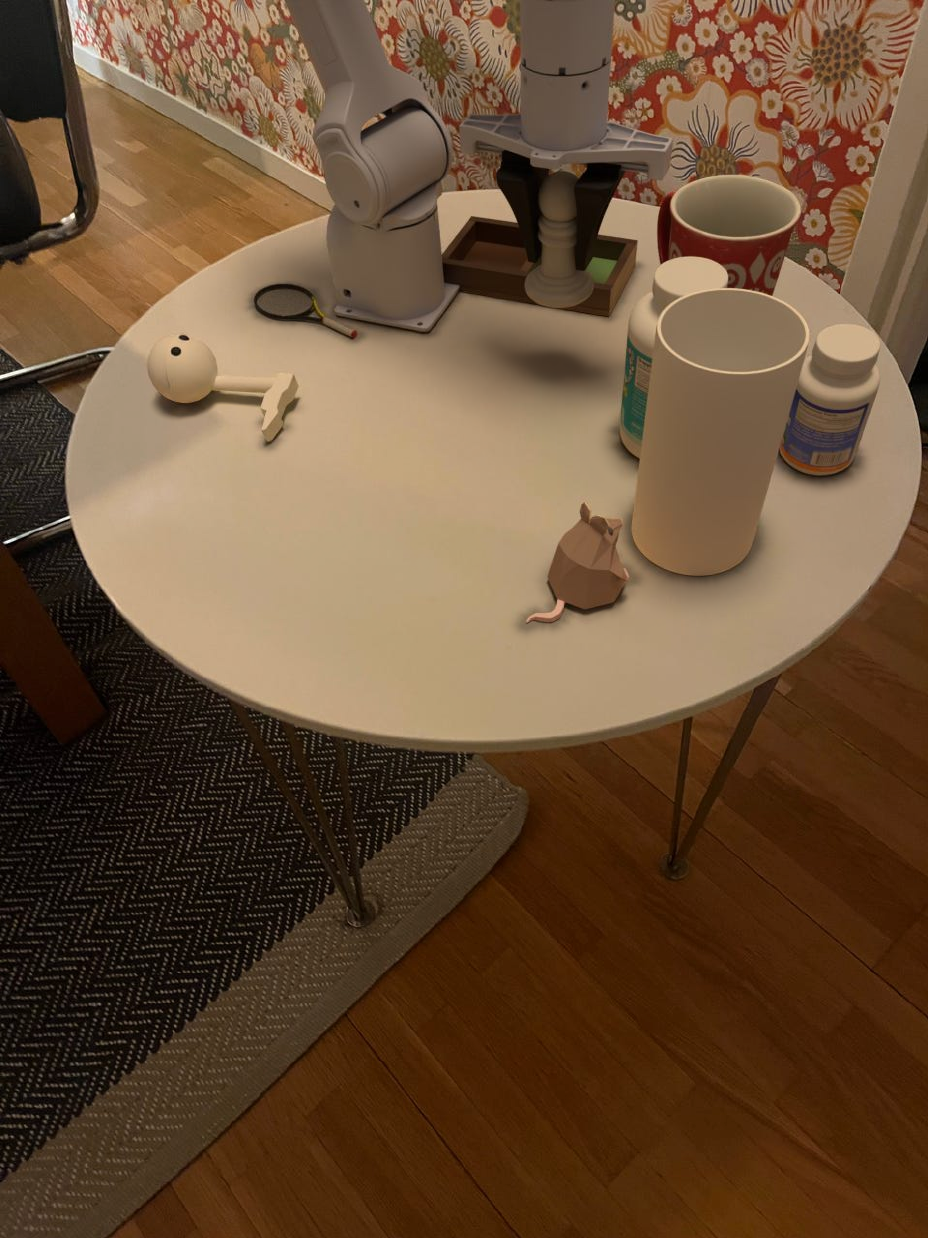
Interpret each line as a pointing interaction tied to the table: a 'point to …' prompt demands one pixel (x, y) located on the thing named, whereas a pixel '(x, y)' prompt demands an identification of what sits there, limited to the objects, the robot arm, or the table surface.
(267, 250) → the table surface
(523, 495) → the table surface
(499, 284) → the tray
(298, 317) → the tennis racket
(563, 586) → the mouse figurine
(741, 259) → the mug
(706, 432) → the cup
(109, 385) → the table surface
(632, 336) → the pill bottle
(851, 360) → the pill bottle
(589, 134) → the robot arm
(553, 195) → the chess piece
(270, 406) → the figurine
